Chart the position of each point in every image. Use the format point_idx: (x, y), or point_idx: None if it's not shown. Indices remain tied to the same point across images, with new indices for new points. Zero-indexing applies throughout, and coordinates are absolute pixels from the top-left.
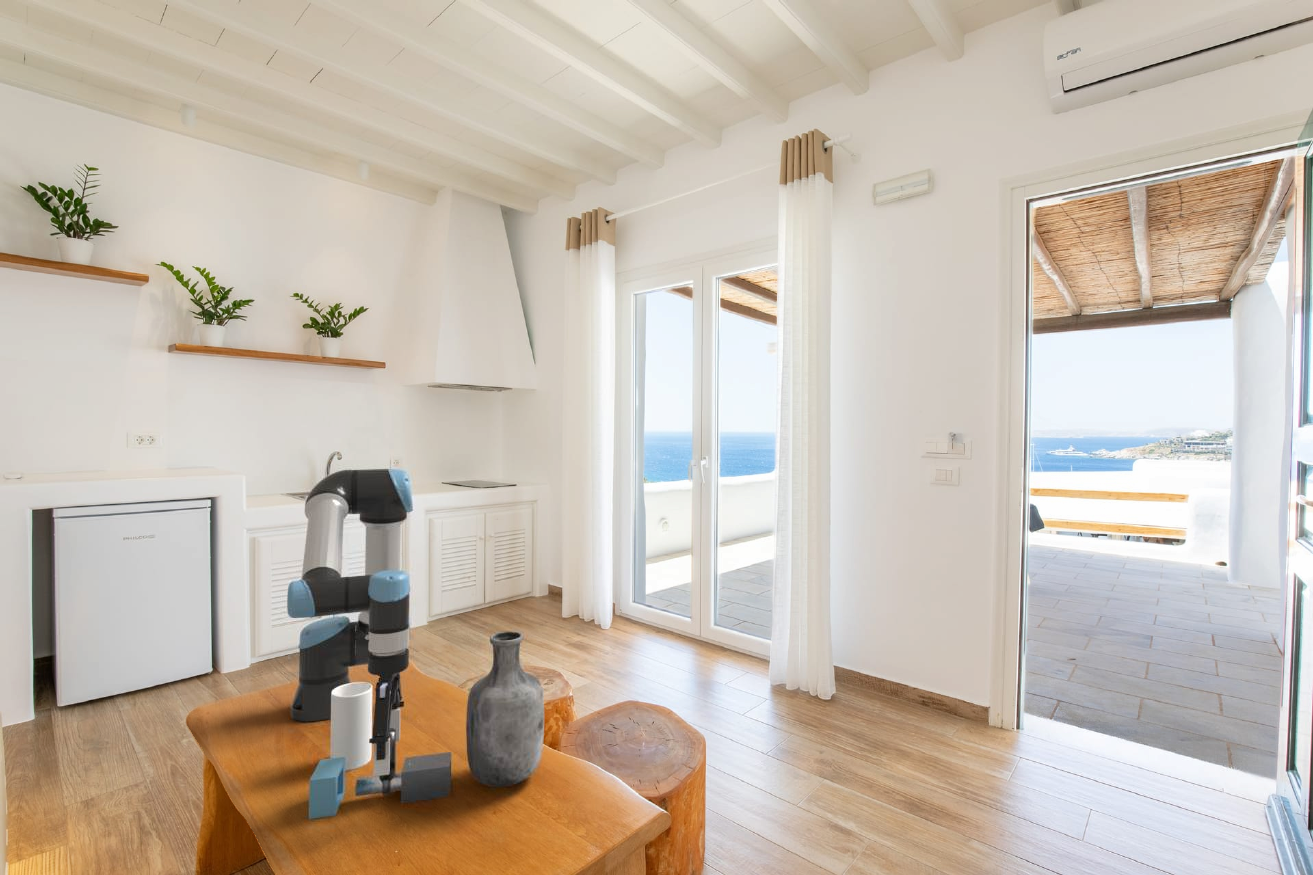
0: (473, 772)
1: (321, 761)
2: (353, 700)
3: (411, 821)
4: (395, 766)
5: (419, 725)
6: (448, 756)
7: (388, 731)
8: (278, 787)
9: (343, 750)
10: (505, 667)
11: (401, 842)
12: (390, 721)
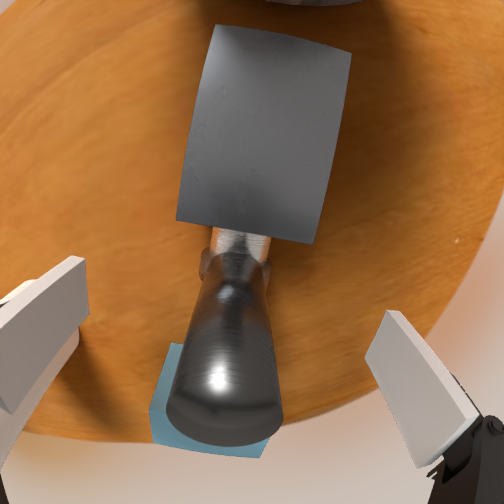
0: (342, 2)
1: (162, 442)
2: None
3: (389, 199)
4: (238, 263)
5: None
6: (255, 37)
7: (500, 451)
8: (124, 417)
9: (57, 365)
10: None
11: (442, 229)
12: (35, 354)
